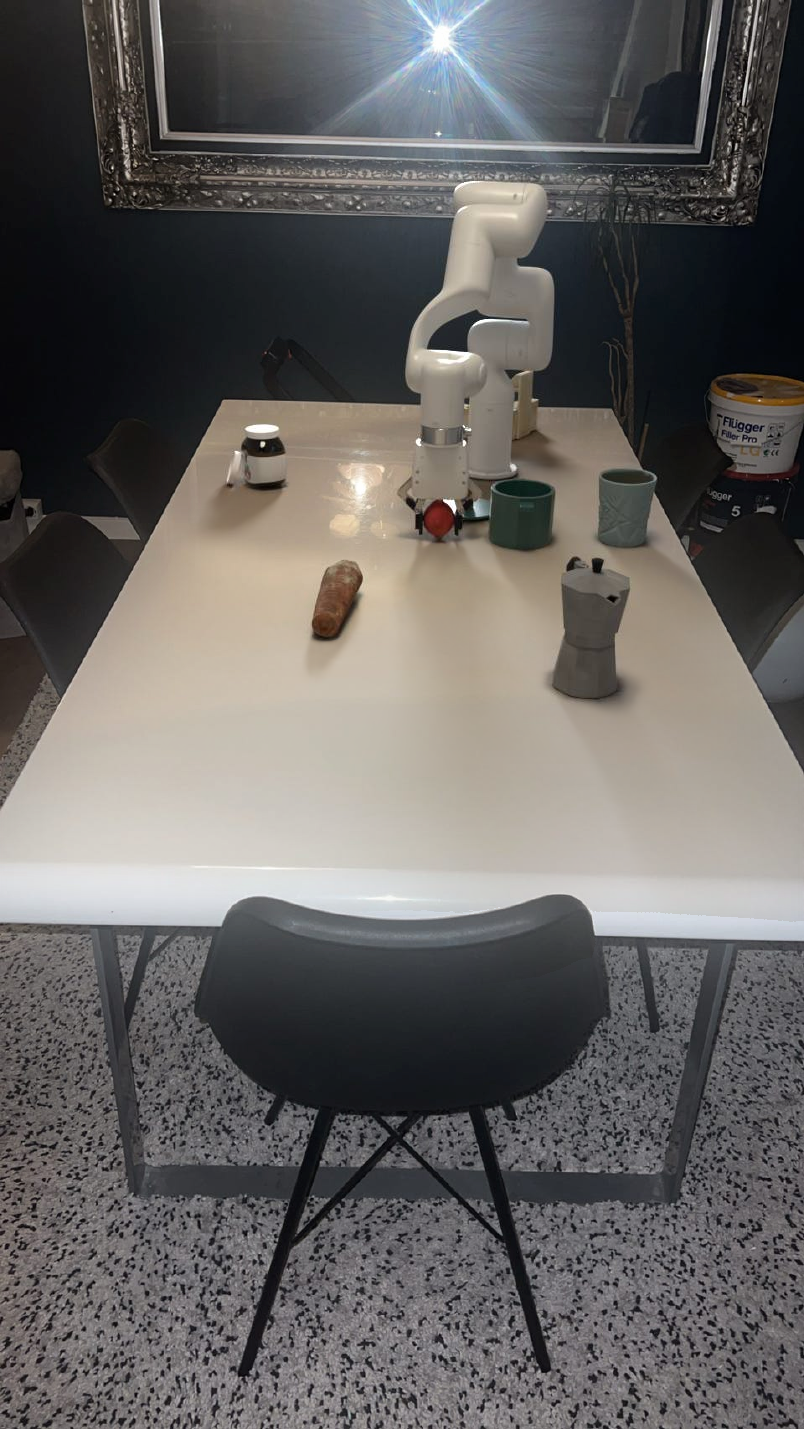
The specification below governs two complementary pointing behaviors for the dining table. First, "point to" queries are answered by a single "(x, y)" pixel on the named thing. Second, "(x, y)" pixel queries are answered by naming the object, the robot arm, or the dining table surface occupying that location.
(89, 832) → the dining table surface
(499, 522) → the pot
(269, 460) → the spread jar
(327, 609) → the brown root vegetable
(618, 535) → the light blue cup
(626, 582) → the coffeepot
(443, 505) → the onion
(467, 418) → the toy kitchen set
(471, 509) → the pot lid
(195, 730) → the dining table surface
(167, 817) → the dining table surface
